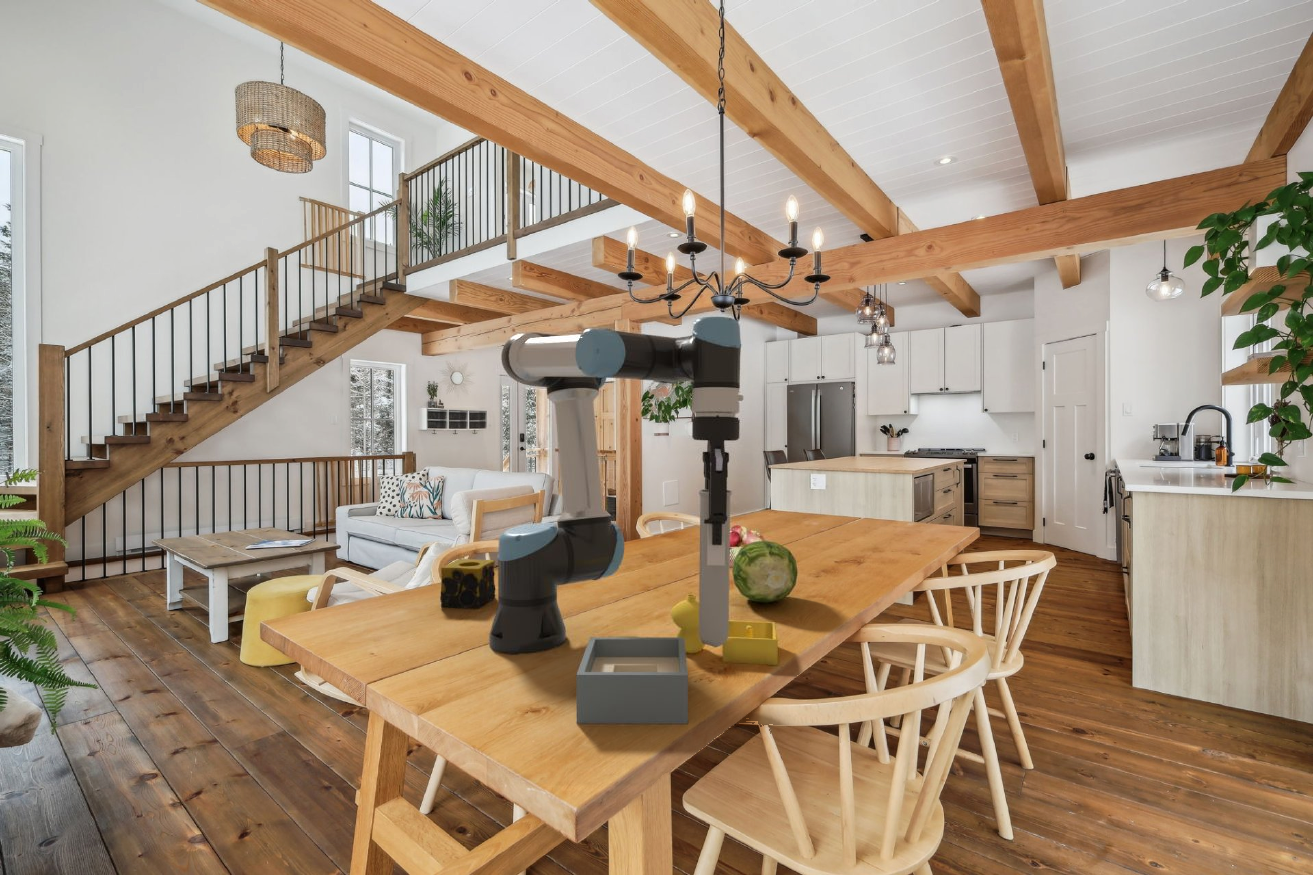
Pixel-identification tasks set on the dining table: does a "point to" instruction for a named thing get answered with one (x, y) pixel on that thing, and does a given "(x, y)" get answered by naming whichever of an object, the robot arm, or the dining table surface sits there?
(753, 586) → the lettuce
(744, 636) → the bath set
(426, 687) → the dining table surface
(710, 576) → the tube
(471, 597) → the yellow and black cube
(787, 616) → the dining table surface
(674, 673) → the box
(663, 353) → the robot arm
